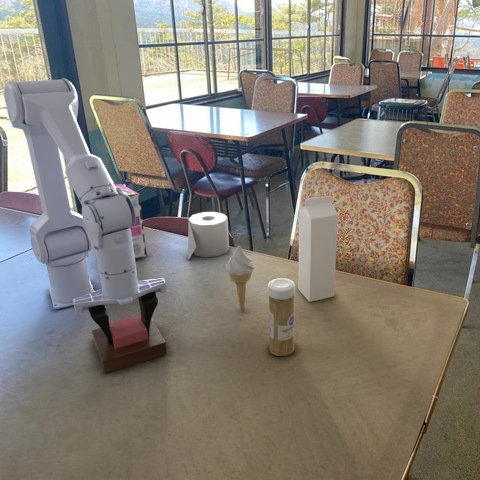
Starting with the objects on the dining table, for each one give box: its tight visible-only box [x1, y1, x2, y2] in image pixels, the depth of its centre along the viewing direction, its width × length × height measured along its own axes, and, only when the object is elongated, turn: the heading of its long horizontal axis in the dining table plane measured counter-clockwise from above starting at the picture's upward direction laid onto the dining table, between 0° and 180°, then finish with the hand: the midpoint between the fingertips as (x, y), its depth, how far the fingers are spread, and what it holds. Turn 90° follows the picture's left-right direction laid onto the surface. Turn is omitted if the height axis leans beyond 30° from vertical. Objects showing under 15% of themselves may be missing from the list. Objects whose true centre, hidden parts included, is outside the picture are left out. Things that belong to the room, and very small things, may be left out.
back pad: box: [109, 314, 148, 349], centre depth 84 cm, size 5×5×4 cm
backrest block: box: [91, 316, 168, 374], centre depth 85 cm, size 10×10×2 cm
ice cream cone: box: [224, 244, 255, 313], centre depth 94 cm, size 6×6×15 cm
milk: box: [297, 195, 339, 303], centre depth 100 cm, size 6×6×22 cm
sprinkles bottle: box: [267, 277, 296, 357], centre depth 83 cm, size 5×5×14 cm
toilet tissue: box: [187, 211, 230, 261], centre depth 120 cm, size 9×13×9 cm
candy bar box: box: [114, 183, 148, 261], centre depth 118 cm, size 11×5×16 cm, turn 43°
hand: (128, 336), depth 84 cm, fingers closed on back pad, 5 cm apart
